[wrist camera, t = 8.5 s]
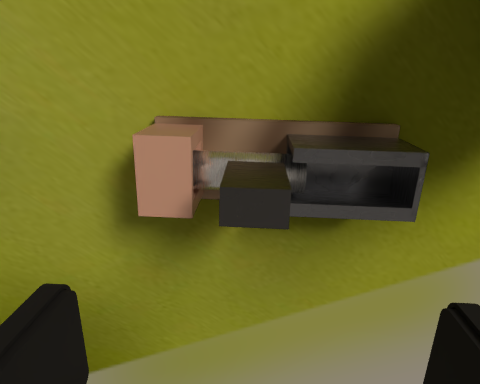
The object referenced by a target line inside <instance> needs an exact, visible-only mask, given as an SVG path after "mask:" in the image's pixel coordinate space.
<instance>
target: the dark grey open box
mask: <svg viewBox="0 0 480 384" xmlns="http://www.w3.org/2000/svg"><path fill="white" fill-rule="evenodd" d="M286 154H292V162H295V163H307V176H306V186H305V190H304V193H303V194H301V193H291V204H290V216H296V217H318V218H341V219H364V220H387V221H410V222H415V220H416V215H417V210H418V205H419V201H420V196H421V191H422V186H423V182H424V177H425V172H426V167H427V163H428V158H429V153H428V152H426V151H424V150H422V149H420V148H418V147H416V146H414V145H412V144H410V143H408V142H405V141H403V140H401V139H399V138H384V137H356V136H328V135H300V134H287V146H286Z"/></svg>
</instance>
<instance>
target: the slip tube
mask: <svg viewBox="0 0 480 384" xmlns="http://www.w3.org/2000/svg"><path fill="white" fill-rule="evenodd" d="M306 176H307V163H295V162H292V154H282V153H256V152H229V151H202V150H193V189H205V190H220V201H219V226H227V227H249V228H272V229H289V217H290V204H291V193H301V194H303V193H304V190H305V186H306Z"/></svg>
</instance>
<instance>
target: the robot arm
mask: <svg viewBox="0 0 480 384" xmlns="http://www.w3.org/2000/svg"><path fill="white" fill-rule="evenodd" d="M88 374H89V369H88V363H87V356H86V350H85V344H84V338H83V332H82V326H81V319H80V313H79V307H78V301H77V295H76V293H75V291H71V289H70V287H69V286H68V285H65V284H43V285H42V286H40V287H39V288H38V289H37V290H36V291H35V292H34V293H33V294H32V295H31V296H30V297H29V298H28V299H27V300H26V301H25V302H24V303H23V304H22V305H21V306H20V307H19V308H18V309H17V310H16V311H15V312H14V313H13V314H12V315H11V316H10V317H8V318H7V319H6V320H5V321H4V322H3V323H2V324H1V325H0V384H86V383H87V380H88ZM423 384H480V306H479V305H478V304H470V303H450V304H449V305H448V307H447V308H445V309H443V310H442V311H441V313H440V317H439V321H438V325H437V330H436V333H435V337H434V342H433V345H432V350H431V354H430V358H429V362H428V366H427V370H426V374H425V378H424V382H423Z"/></svg>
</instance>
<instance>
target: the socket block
mask: <svg viewBox="0 0 480 384" xmlns="http://www.w3.org/2000/svg"><path fill="white" fill-rule="evenodd" d="M133 147H134V161H135V174H136V188H137V201H138V215H139V216H151V217H174V218H193V216H194V214H195V211H196V209H197V207H198V204H199V202H200V200H201V198H202V195H203V189H193V150H202V151H203V125H187V124H159V123H155V124H153V125H151V126H149V127H147V128H145V129H143V130H141V131H139V132H137V133H135V134H133Z"/></svg>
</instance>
